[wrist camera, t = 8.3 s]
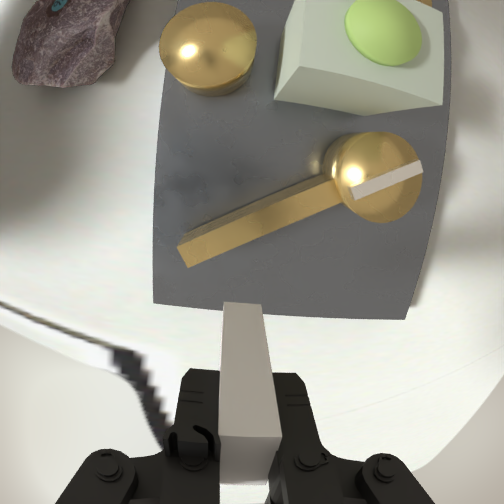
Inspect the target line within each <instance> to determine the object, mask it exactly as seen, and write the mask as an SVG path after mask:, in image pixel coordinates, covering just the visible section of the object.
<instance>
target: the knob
mask: <svg viewBox="0 0 504 504" xmlns="http://www.w3.org/2000/svg"><path fill="white" fill-rule="evenodd" d="M422 172H423V169H422V165H421V162H420V160H419V158H418V156H417V154H416V152H415V151H414V149H413V148H412V146H411V145H410V144H409V143H408V142H407V141H406V140H404V139H403V138H402V137H400V136H398V135H396V134H393V133H390V132H360V133H350V134H346V135H344V136H341V137H340V138H338V139H337V140H336V141H334V142H333V143H332V144H331V146H330V147H329V148H328V150H327V152H326V154H325V156H324V159H323V164H322V174H320V175H318V176H315V177H313V178H310V179H308V180H306V181H303V182H301V183H298V184H296V185H294V186H291V187H289V188H286V189H284V190H282V191H279V192H277V193H275V194H272V195H270V196H267V197H265V198H263V199H261V200H258V201H256V202H254V203H251V204H249V205H247V206H244V207H242V208H240V209H238V210H235V211H233V212H231V213H229V214H226V215H224V216H222V217H220V218H217V219H215V220H213V221H211V222H209V223H206V224H204V225H202V226H200V227H198V228H195V229H193V230H191V231H189V232H187V233H185V234H184V236H183V237H182V239H181V241H180V242H179V244H178V246H177V249H178V251H179V253H180V254H181V256H182V258H183V260H184V262H185V264H186V266H187V267H188V268H189V267H191V266H194V265H196V264H198V263H201V262H203V261H205V260H207V259H210V258H212V257H214V256H217V255H219V254H221V253H224V252H226V251H228V250H231V249H233V248H235V247H238V246H240V245H242V244H245V243H247V242H249V241H252V240H254V239H256V238H259V237H261V236H263V235H266V234H268V233H270V232H273V231H275V230H277V229H280V228H282V227H284V226H287V225H289V224H291V223H294V222H296V221H299V220H301V219H303V218H306V217H308V216H310V215H313V214H315V213H317V212H320V211H322V210H325V209H327V208H329V207H332V206H334V205H336V204H339V203H341V204H342V205H344V206H345V207H347V208H348V209H350V210H351V211H353V212H354V213H356V214H357V215H359V216H360V217H362V218H364V219H366V220H368V221H371V222H375V223H388V222H392V221H395V220H397V219H399V218H401V217H402V216H404V215H405V214H406V213H407V212H408V211H409V210H410V209H411V208H412V207H413V205H414V204H415V202H416V201H417V199H418V196H419V194H420V190H421V186H422Z"/></svg>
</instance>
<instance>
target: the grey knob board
mask: <svg viewBox="0 0 504 504" xmlns="http://www.w3.org/2000/svg"><path fill="white" fill-rule="evenodd" d="M294 1H295V0H178V3H177V8H176V13H175V16H174V17H173V18H172V19H171V20H170V21H169V22H168V23H167V25H166V26H165V28H164V30H163V32H162V34H161V38H160V42H159V53H160V57H161V60H162V62H163V64H164V66H165V67H166V71H165V78H164V86H163V93H162V102H161V111H160V120H159V130H158V141H157V154H156V168H155V185H154V209H153V303H156V304H164V305H173V306H182V307H191V308H200V309H211V310H221V311H223V307H224V302H234V303H248V304H261V307H262V313H263V314H271V315H286V316H303V317H323V318H348V319H391V320H405V318H406V315H407V312H408V309H409V306H410V303H411V300H412V297H413V293H414V290H415V287H416V284H417V280H418V277H419V274H420V270H421V267H422V263H423V259H424V256H425V252H426V248H427V244H428V240H429V236H430V232H431V227H432V223H433V218H434V214H435V209H436V204H437V199H438V194H439V188H440V182H441V176H442V170H443V163H444V156H445V148H446V140H447V130H448V120H449V106H450V88H451V35H450V18H449V5H448V0H432V8H434V9H436V10H438V11H440V12H442V13H443V30H444V84H443V103H442V105H440V106H431V107H422V108H414V109H407V110H400V111H393V112H387V113H380V114H374V115H369V116H361V115H356V114H352V113H347V112H343V111H338V110H333V109H328V108H322V107H317V106H311V105H305V104H299V103H293V102H286V101H279V100H274V93H275V85H276V76H277V67H278V58H279V50H280V41H281V34H282V32H283V29H284V27H285V24H286V21H287V19H288V16H289V14H290V11H291V9H292V6H293V4H294ZM360 132H390V133H393V134H396V135H398V136H400V137H402V138H403V139H404V140H406V141H407V142H408V143H409V144H410V145H411V146H412V148H413V149H414V151H415V152H416V154H417V156H418V158H419V160H420V162H421V165H422V169H423V172H422V186H421V190H420V194H419V196H418V199H417V201H416V202H415V204H414V205H413V207H412V208H411V209H410V210H409V211H408V212H407V213H406V214H405V215H404V216H402V217H401V218H399V219H397V220H395V221H392V222H388V223H375V222H371V221H368V220H366V219H364V218H362V217H360V216H359V215H357V214H356V213H354V212H353V211H351V210H350V209H348V208H347V207H345V206H344V205H342V204H341V203H339V204H336V205H334V206H332V207H329V208H327V209H325V210H322V211H320V212H317V213H315V214H313V215H310V216H308V217H306V218H303V219H301V220H299V221H296V222H294V223H291V224H289V225H287V226H284V227H282V228H280V229H277V230H275V231H273V232H270V233H268V234H266V235H263V236H261V237H259V238H256V239H254V240H252V241H249V242H247V243H245V244H242V245H240V246H238V247H235V248H233V249H231V250H228V251H226V252H224V253H221V254H219V255H217V256H214V257H212V258H210V259H207V260H205V261H203V262H201V263H198V264H196V265H194V266H191V267H189V268H188V267H187V266H186V264H185V262H184V260H183V258H182V256H181V254H180V253H179V251H178V249H177V246H178V244H179V242H180V241H181V239H182V237H183V236H184V234H185V233H187V232H189V231H191V230H193V229H195V228H198V227H200V226H202V225H204V224H206V223H209V222H211V221H213V220H215V219H217V218H220V217H222V216H224V215H226V214H229V213H231V212H233V211H235V210H238V209H240V208H242V207H244V206H247V205H249V204H251V203H254V202H256V201H258V200H261V199H263V198H265V197H267V196H270V195H272V194H275V193H277V192H279V191H282V190H284V189H286V188H289V187H291V186H294V185H296V184H298V183H301V182H303V181H306V180H308V179H310V178H313V177H315V176H318V175H320V174H322V164H323V159H324V156H325V154H326V152H327V150H328V148H329V147H330V146H331V144H332V143H333V142H334V141H336V140H337V139H338V138H340V137H341V136H344V135H346V134H350V133H360Z"/></svg>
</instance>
